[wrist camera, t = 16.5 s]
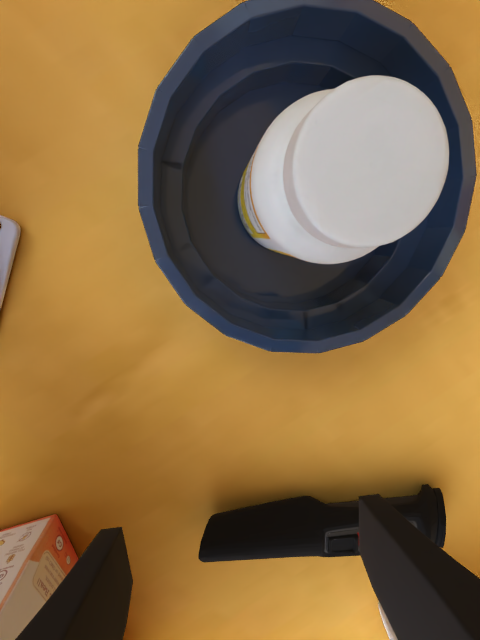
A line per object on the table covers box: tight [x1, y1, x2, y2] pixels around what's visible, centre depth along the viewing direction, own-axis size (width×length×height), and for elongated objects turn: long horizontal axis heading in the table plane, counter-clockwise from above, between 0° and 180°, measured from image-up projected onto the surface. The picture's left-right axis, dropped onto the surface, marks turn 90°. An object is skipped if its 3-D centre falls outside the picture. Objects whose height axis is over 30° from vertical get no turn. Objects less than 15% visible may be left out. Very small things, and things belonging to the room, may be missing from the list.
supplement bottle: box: [238, 75, 449, 264], centre depth 13 cm, size 5×5×10 cm
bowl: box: [138, 0, 477, 353], centre depth 16 cm, size 14×14×4 cm
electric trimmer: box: [199, 484, 446, 562], centre depth 22 cm, size 4×16×3 cm, turn 91°
